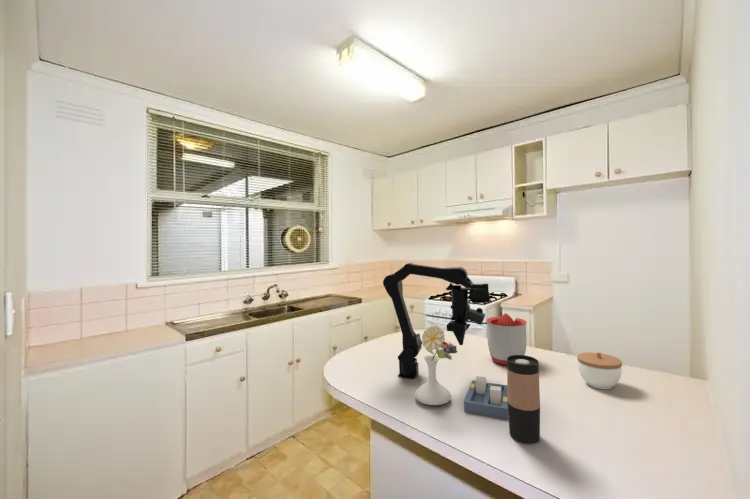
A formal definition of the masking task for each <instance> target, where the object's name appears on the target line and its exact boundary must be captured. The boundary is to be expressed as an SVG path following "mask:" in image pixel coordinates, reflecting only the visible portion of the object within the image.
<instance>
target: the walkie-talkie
mask: <svg viewBox="0 0 750 499" xmlns="http://www.w3.org/2000/svg"><path fill="white" fill-rule="evenodd" d="M438 350H443V351H444V353H445V355H446V357H449V358H450V359H451V358H452V355H450V353H457V346H456V345H454V344H453V343H452V342H451V341H448V340H446V339H445V340H444V342H443V344H442V345H441V347H440V348H439V349H438ZM436 351H437V350H436V349H435V352H436Z"/></svg>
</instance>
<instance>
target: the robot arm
mask: <svg viewBox="0 0 750 499" xmlns="http://www.w3.org/2000/svg"><path fill="white" fill-rule="evenodd" d="M410 275H415V276H422V277H429V278H435V279H440V280H444V281H446V282H448V283H449V285H448V286H447V287H446V288H445V290H446V291H451V305H450V309H451V317H450V321H449V322H448V323H447V324H446V331H447V332H452V333H453V334H454V336H455V338H456V341H457V342H458V345H459V346H463V345H464V341H465V336H466V332H467V330H469V327H470V326H471V324H470V323H467V322H469V321H470V322H473V323H476V324H477V325H479V326H482V325H483V323H484V320H485V316H486V314H485V312H484V310H483V309H482V308H481V307H478V308H476V310H475V309H472V308H471V305H470V304H469V300H471V301H472V303H475V304H476V303H477V304H480V303H481V304H490V291H489V283H474V282H473V281H472V280H471V279H470V278H469V275H468V271H467V270H466V269H465V268H464V267H461V266H459V267H458V266H456V267H437V266H431V265H423V264H417V263H413V262H408V263H405V265H403V266H402V267H401V268H400V269H398V270H397V271H396V272H394V273H391V274H388V275H386V276H385V277H384V279H383V281H382V284H383V287H384V288H385V291H386V293H387V294H388V296H389V297H390V299H391V301H392V304H393V307H394V311H395V315H396V318H397V320H398V324H399V327H400V330H401V333H402V341H401V342H402V350H401V352H400V353H399V355H398V356H397V359H398V363H399V364H398V368H399V370H398V371H399V373H398V375H397V377H399V378H406V379H413V380H414V379H415V378H416V377H417V376H418V374H419V373H420V371H419V362H418V359H417V356H418V355H419V353H420V352H421V350H422V347H423V345H422V343H423V342H422V338H421V334H420V333H416V332H415V330H414V328H413V325H412V322H411V319H410V315H409V311H408V308H407V305H406V302H405V299H404V295H403V292H404V290H403V281H404V280H405V279H406V278H408V277H409V276H410ZM468 291H469V292H468ZM468 295H469V296H468Z"/></svg>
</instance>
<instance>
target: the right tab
mask: <svg viewBox="0 0 750 499" xmlns="http://www.w3.org/2000/svg"><path fill="white" fill-rule="evenodd" d="M501 401H502V399H501V387H499V386H492V385H491V387H490V404H495V405H501Z"/></svg>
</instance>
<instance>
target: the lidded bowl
mask: <svg viewBox="0 0 750 499" xmlns="http://www.w3.org/2000/svg"><path fill="white" fill-rule="evenodd" d="M576 357H577V366H578V370H579V375H580V376H581V377H582V379H583V380H584V381H585V382H586V383H587V385H588V386H589V387H592V388H595V389H598V390H611V389H612V388H613V387H614V386H616V385H618V383H619V382H620V380H621V377H622V366H623V361H622V360H621V359H620V358H618V357H616V356H613V355H610V354H605V353H602V352H581V353H578V354H577V356H576Z"/></svg>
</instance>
